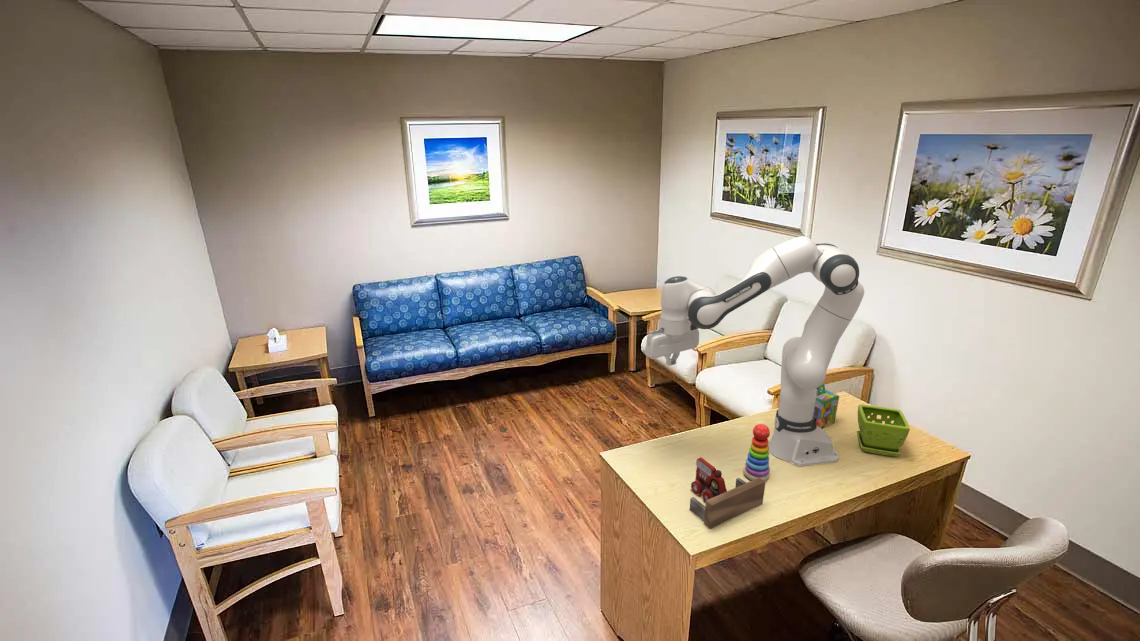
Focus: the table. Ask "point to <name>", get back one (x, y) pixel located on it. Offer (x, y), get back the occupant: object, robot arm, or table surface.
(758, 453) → the stacking toy
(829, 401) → the chalk box
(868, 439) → the flower pot
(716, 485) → the toy fire truck
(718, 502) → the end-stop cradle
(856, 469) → the table surface
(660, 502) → the table surface
